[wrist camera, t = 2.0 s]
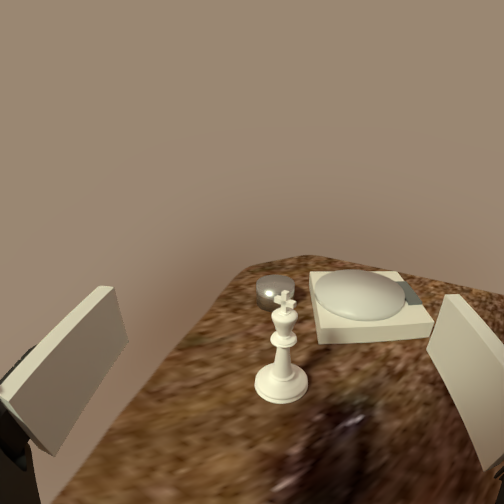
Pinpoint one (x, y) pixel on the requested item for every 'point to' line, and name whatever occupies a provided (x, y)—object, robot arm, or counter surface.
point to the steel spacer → (273, 290)
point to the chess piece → (282, 359)
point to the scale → (366, 307)
